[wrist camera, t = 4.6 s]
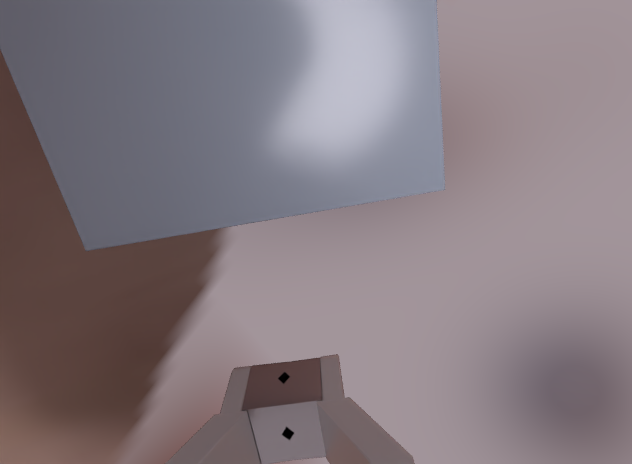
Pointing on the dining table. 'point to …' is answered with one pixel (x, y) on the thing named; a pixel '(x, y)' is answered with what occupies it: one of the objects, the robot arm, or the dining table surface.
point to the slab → (226, 107)
